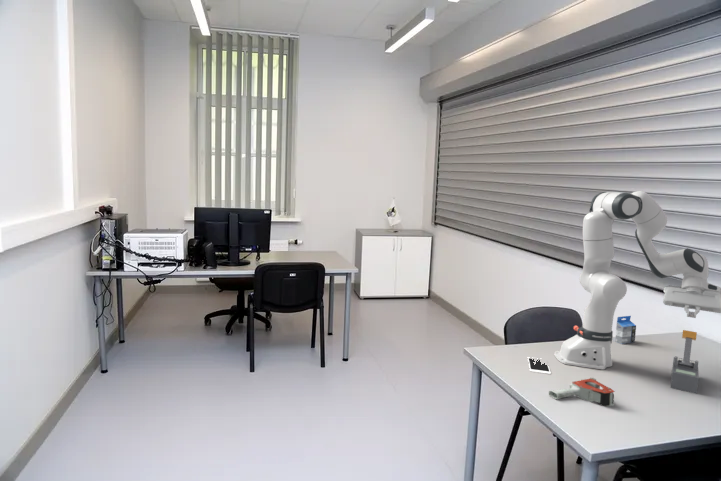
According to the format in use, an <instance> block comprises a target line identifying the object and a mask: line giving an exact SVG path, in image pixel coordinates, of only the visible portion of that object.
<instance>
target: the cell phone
mask: <svg viewBox="0 0 721 481" xmlns="http://www.w3.org/2000/svg"><path fill="white" fill-rule="evenodd" d="M527 358H528V359H527ZM527 358H526V359H527V363H528V362H529V364H528V369H529V368H530V369H529V372H531V371H532V372H531V373H537V372H539V373H538V374H544V373H546V375H551V374H552V372H551V369H550V366H547V365H545V363H544V364H542V365H541V362H540V359H541V358H540V359H538V357H536V358H537V359H538V360H539V361H538V360H537V361H538V362H537V361H536V364H535V365H534V363H533V362H535V361H534V359H533V360H532V358H533V357H532V358H530V356H527Z"/></svg>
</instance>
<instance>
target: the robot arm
mask: <svg viewBox="0 0 721 481" xmlns="http://www.w3.org/2000/svg"><path fill="white" fill-rule="evenodd" d="M629 219H631V220H632V221H633V222H634V224H635V225H636V229H635V231H634V233H635V234H634V235H635V239H636V241H637V244H638V245H639V247H640V249H641V252H642V253H643V255H644V257H645V259H646V261H647V264H648V266H649V270H650V271H651V273H652V274H653V275H654V276H656V277H657V278H660V279H665V278H669V277H672V276H677V275H681V274H682V276H683V278H682V280H681V286H678V285H672V284H670V285H667V286H665V287H664V288H663V293H664V294H663V300H662V303H663V304H664V305H665V306H669V307H677V308H683V309H684V311H685V313H686V317H687V318H693V319H696V317H697V315H698V314H699V313H700V312H701V311H703V312H704V311H705V312H710V313H715V314H721V287H720V286H718V285H715V284H712V283H709V282H708V277H709V274H710V273H709V271H710V269H709V262H708V258H707V257H706V256H705V255H703V254H702V253H701V254H700V253H699V252H697V251H695V250H693V249H691V248H683V249H678V250H674V251H671V252H668V253H666V252H665V253H659V252H658V250H657V248H656V246H655V244H654V242H653V241H652V239H653V240H654V238H656V236H658V235H660V234H661V232H663V231H664V230H665V228H666V226H667V224H668V216H667V214H666V212H665V211H664V210H663V208H662V207H661V206H660V204H659V203H658V202H657V201H656V200H655V199H654V198H653V196H651V195H650V194H648V193H647V192H646V191H643V190H636V191H633V192H631V193H630V192H619V191H603V192H600V193H597V194H595V195H594V196H593V197H592V199H591V201H590V207H589V213H587V214H586V215H584V217H583V219H582V220H583V222H582V244H583V254H584V255H583V257H584V260H583V266H582V271H581V273H580V274H579V278H578V279H579V284H580V285H581V286H582V288H583V289H584V290H585V291H586V292H588V293H590V294H591V297H590V300H589V303H588V304H587V306H585V308H584V309H583V318H582V325H581V327H580V326H578V325H574V326H573V330H574V331H576V334H575V335H574V336H572V337H569V338H567V339H566V340H564V341H563V342H562V343H561V346H560V350H555V351H554V353H553V354H554V355H555V356H554V358H555V359H557V361H559V362H560V363H561V364H564V365H569V366H575V367H580V368H581V367H583V368H589V369H597V370H606V368H610V367H612V366H613V359H612V348H611V347H612V346H611V345H612V342H613V333H614V331H613V322H614V316H615V312H616V308H617V307H618V305H619V303H620V301H622V299H623V298H624V297H625V296H626V294H627V291H628V290H627V289H628V288H627V287H628V286H627V284H626V283H625V282H624V280H623V279H622V278H620V277H619V276H618V275H616V274H614V273H612V272H611V271H610V270H611V264H612V260H613V259H614V257H615V247H614V246H615V245H614V244H615V243H614V237H613V236H614V235H613V224H614V221H615V220H622V221H623V220H625V221H626V220H629ZM690 309H691V310H695V311H690Z"/></svg>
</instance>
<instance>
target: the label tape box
mask: <svg viewBox="0 0 721 481" xmlns="http://www.w3.org/2000/svg"><path fill="white" fill-rule="evenodd" d="M631 316H632V315H625V316H618V317H617V320H616V327H615V329H616V330H615V341H614V342H615V343H618V344H620V345H621V344H622V345H623V344H631V343H635V342H636V332H637V331H636V330H637V325H636V324H635V323H634V322H632V321H631Z"/></svg>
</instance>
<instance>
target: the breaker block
mask: <svg viewBox="0 0 721 481" xmlns="http://www.w3.org/2000/svg"><path fill="white" fill-rule="evenodd" d="M678 360H682V361H683V358H681V357H679V356H673V362H672V369H671V379H670V388H671V389H675V390H679V391H683V392H689V393H691V394H692V393H693V394H695V395H697V393H698V387H699V386H698V385H699V379H700V377H699V376H700V375H699V374H700V373H699V360H691V359H690V362H692V363H694V368H690V367H686V366H681V365H678Z"/></svg>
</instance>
